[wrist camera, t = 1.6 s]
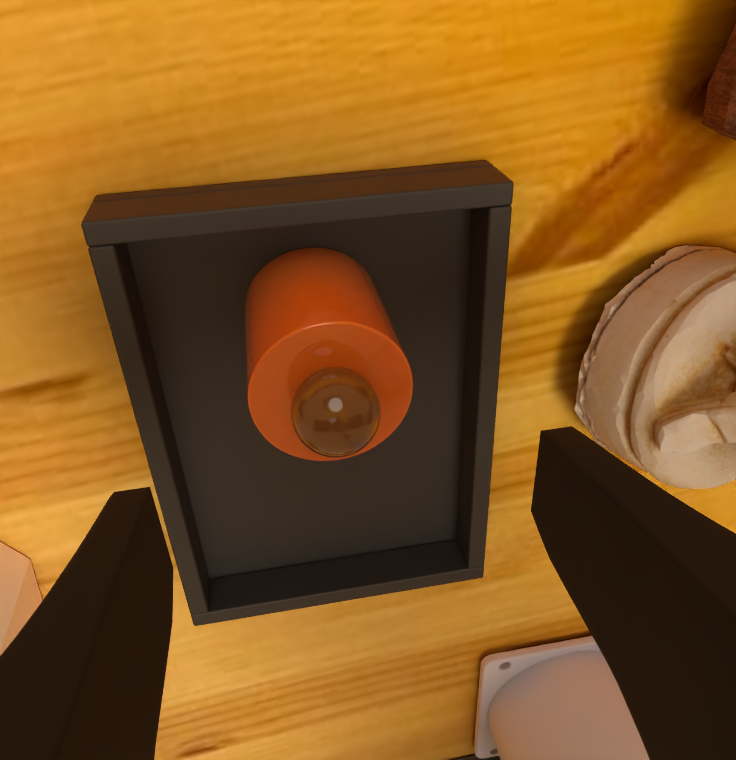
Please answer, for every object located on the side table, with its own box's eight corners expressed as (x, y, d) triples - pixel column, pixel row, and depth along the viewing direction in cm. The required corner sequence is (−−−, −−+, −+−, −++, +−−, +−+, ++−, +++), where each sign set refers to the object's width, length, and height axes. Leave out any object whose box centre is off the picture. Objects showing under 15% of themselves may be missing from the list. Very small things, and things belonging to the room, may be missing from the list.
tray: (95, 194, 17) (79, 222, 15) (487, 159, 18) (514, 181, 16) (196, 579, 25) (193, 627, 23) (466, 535, 26) (483, 578, 24)
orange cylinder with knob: (376, 239, 18) (432, 349, 13) (380, 359, 20) (430, 494, 15) (234, 254, 18) (236, 373, 13) (253, 375, 20) (261, 519, 15)
